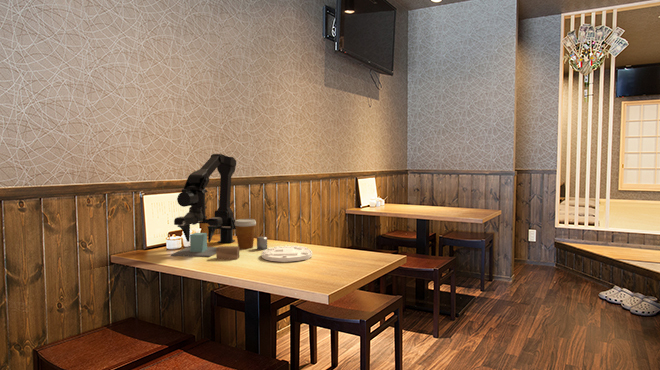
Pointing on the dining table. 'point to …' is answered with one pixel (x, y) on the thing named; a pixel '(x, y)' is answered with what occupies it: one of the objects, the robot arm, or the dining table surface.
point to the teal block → (198, 242)
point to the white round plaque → (286, 253)
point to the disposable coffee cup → (245, 232)
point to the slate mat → (186, 252)
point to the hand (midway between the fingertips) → (198, 241)
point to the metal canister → (261, 243)
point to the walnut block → (227, 252)
